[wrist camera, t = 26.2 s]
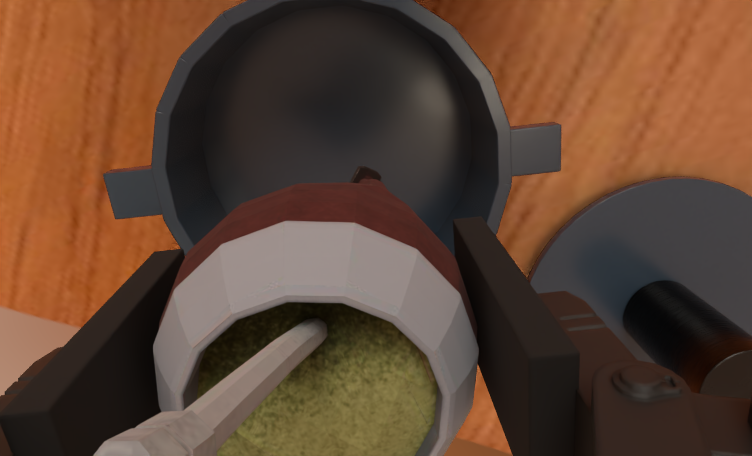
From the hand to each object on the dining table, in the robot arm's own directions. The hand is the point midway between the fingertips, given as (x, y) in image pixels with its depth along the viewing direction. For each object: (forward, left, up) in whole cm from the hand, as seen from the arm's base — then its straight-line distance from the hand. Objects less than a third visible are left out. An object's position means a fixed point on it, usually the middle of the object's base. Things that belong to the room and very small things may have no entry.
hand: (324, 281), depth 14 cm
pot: (0, 0, -19) cm, 19 cm away
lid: (+13, +20, -19) cm, 30 cm away
